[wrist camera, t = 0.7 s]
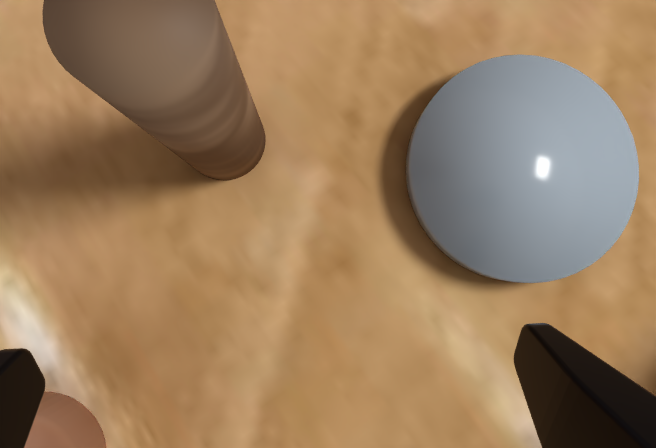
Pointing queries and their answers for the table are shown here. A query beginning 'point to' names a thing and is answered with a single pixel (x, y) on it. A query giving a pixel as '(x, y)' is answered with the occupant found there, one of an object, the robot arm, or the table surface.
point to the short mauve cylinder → (64, 425)
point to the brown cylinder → (164, 75)
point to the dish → (522, 169)
